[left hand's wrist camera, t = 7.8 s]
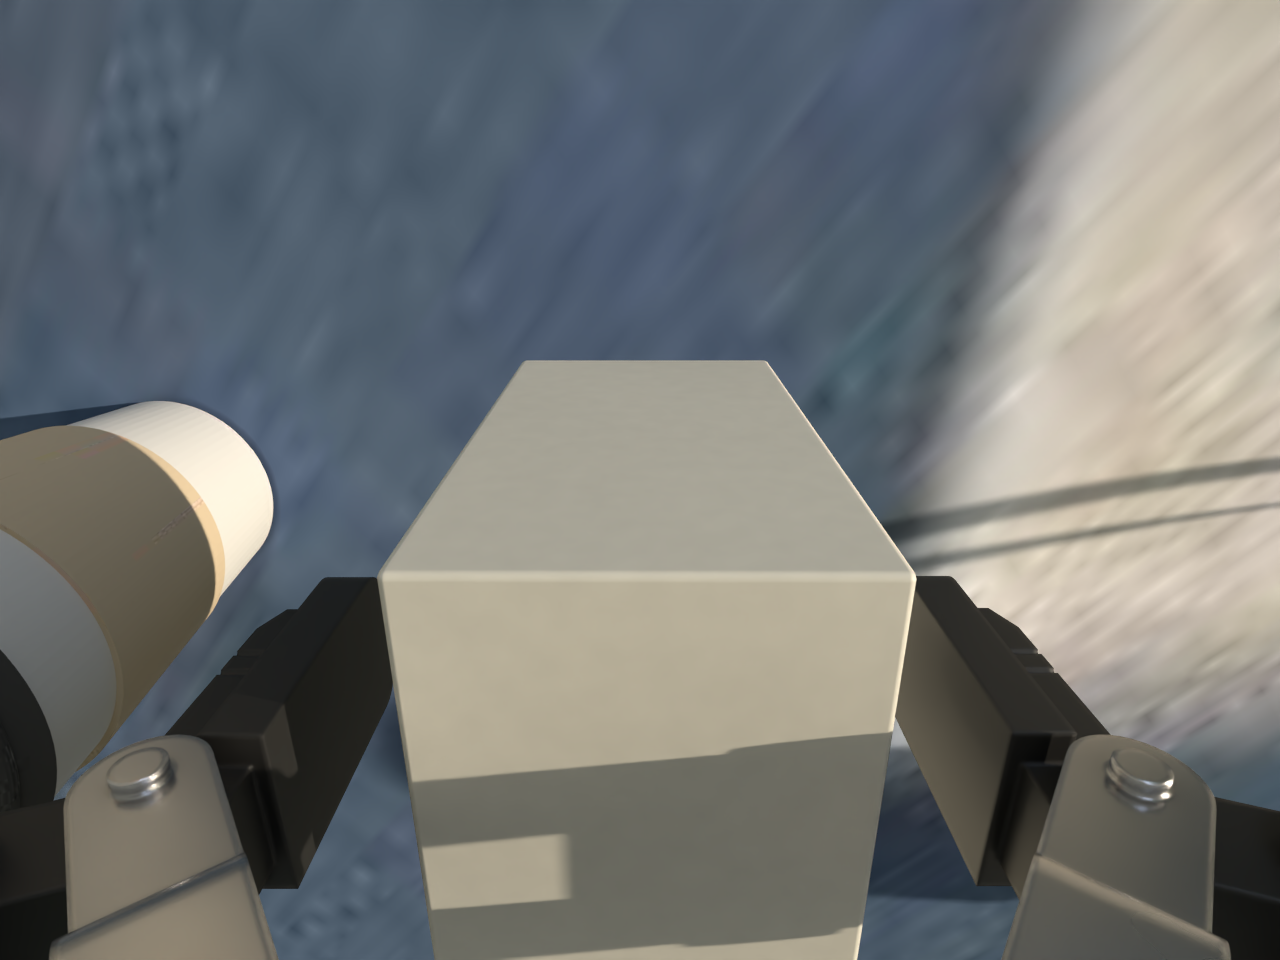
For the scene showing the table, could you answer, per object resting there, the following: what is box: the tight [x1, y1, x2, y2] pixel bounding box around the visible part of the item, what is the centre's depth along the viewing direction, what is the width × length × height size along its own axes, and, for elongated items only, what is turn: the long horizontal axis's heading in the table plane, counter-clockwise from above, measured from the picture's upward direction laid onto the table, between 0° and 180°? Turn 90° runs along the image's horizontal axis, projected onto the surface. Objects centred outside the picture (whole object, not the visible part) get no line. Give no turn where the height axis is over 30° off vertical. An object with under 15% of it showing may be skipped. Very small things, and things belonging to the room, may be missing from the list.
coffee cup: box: [0, 401, 273, 813], centre depth 20 cm, size 9×9×15 cm
